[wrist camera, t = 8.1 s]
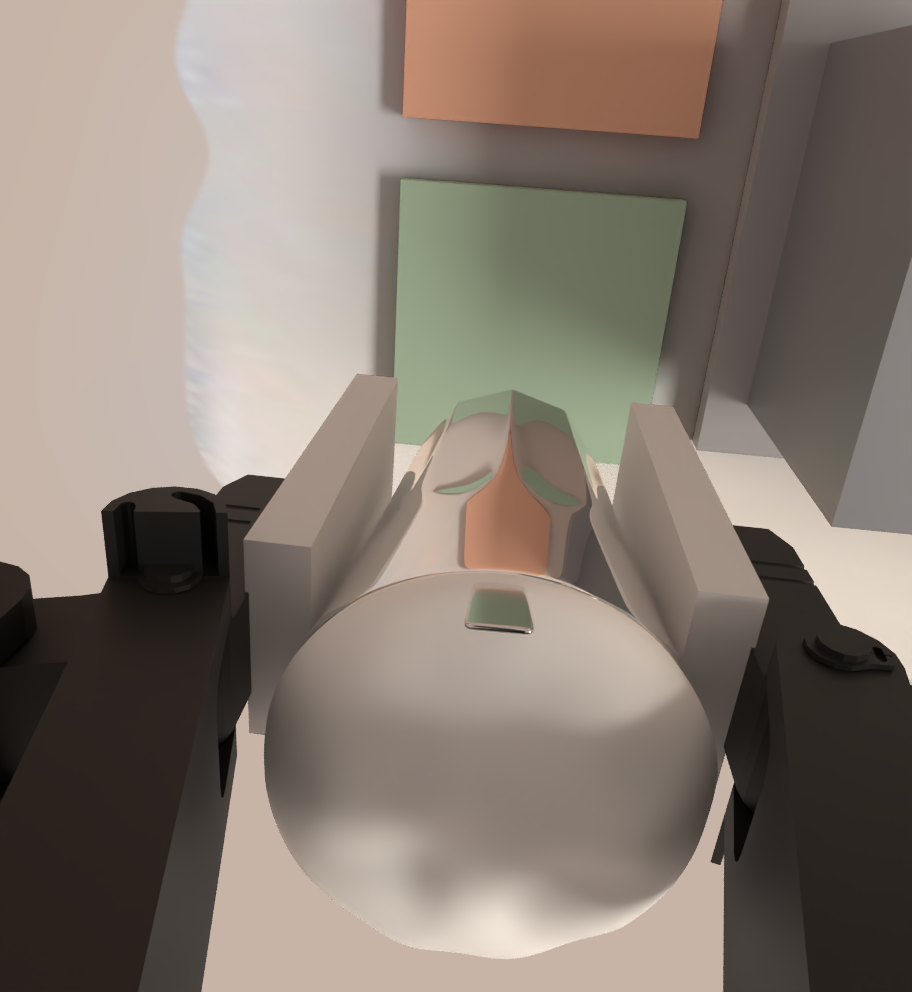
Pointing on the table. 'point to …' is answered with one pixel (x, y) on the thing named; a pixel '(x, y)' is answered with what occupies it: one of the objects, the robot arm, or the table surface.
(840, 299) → the block
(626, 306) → the pad sage
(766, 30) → the table surface
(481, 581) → the milkshake
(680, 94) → the pad terracotta
